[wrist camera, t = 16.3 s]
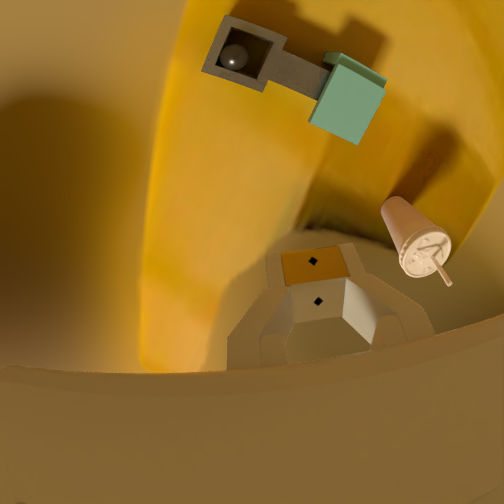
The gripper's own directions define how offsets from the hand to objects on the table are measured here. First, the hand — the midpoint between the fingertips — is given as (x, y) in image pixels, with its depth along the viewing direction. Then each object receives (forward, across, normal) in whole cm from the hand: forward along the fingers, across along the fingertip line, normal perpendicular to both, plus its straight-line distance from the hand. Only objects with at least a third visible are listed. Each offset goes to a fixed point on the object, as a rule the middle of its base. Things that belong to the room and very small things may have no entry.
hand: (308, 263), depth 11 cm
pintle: (+23, +2, -6) cm, 24 cm away
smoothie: (+24, -15, +14) cm, 31 cm away
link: (+23, -3, -4) cm, 24 cm away
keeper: (+24, -7, -1) cm, 25 cm away
